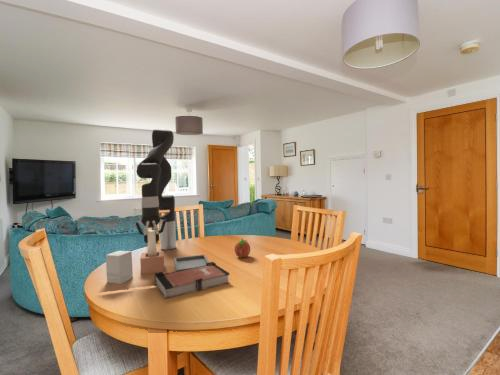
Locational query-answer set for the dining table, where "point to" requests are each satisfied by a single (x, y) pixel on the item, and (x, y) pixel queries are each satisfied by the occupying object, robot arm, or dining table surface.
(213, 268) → the book
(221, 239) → the dining table surface
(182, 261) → the tray
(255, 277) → the dining table surface
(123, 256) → the supplement box
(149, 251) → the peg
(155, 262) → the square hole frame
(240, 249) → the fruit
